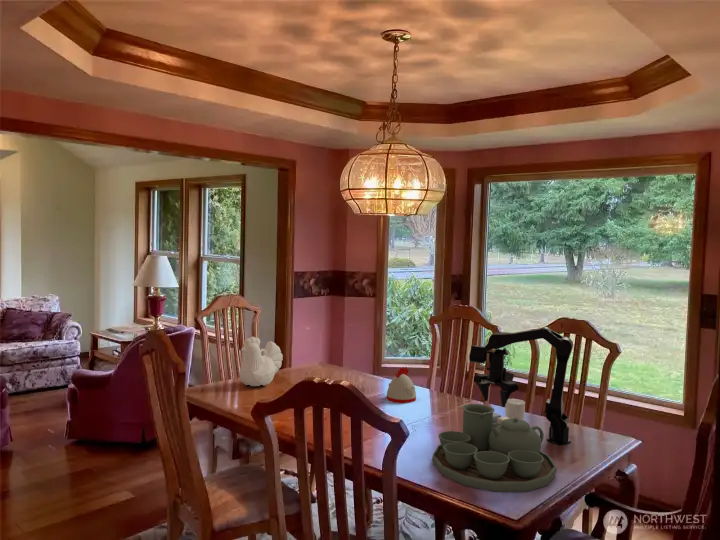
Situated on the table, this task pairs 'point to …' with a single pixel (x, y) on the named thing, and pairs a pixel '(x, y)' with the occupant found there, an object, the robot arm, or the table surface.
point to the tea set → (494, 453)
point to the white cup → (515, 409)
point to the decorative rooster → (259, 362)
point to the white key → (501, 419)
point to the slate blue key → (495, 417)
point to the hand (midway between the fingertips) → (494, 403)
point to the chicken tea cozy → (401, 388)
